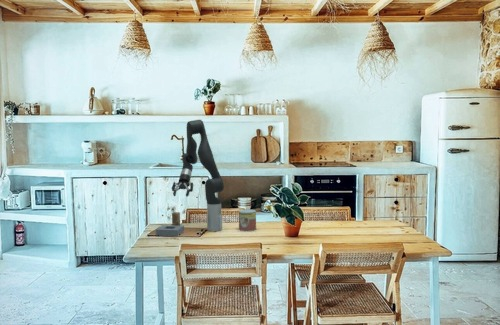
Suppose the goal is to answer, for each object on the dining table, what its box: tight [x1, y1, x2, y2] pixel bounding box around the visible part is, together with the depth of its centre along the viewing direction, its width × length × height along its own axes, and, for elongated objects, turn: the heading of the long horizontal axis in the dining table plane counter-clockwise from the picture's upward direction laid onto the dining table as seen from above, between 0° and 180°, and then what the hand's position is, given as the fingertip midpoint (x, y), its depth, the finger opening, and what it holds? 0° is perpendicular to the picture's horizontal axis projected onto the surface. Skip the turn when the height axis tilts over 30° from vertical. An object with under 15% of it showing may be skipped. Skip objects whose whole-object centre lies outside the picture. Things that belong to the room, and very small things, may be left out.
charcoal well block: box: [155, 224, 185, 237], centre depth 276 cm, size 14×12×4 cm
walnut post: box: [171, 211, 181, 226], centre depth 288 cm, size 4×4×11 cm
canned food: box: [238, 208, 257, 232], centre depth 286 cm, size 11×11×12 cm
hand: (180, 195), depth 297 cm, fingers open, 8 cm apart
